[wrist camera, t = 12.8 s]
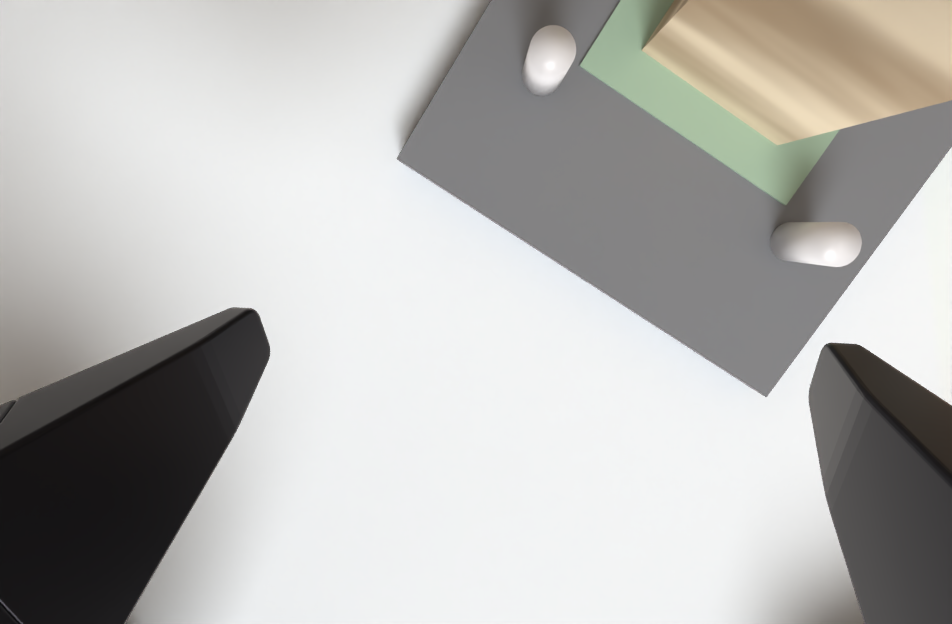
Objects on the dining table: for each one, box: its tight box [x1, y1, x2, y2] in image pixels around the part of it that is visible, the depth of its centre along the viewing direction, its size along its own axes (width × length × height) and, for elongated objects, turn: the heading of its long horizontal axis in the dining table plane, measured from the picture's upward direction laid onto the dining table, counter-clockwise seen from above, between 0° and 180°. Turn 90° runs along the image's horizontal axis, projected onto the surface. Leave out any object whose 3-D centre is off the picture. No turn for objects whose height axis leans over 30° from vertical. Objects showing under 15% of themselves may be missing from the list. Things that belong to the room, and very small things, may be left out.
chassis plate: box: [397, 0, 952, 397], centre depth 16 cm, size 18×14×4 cm
